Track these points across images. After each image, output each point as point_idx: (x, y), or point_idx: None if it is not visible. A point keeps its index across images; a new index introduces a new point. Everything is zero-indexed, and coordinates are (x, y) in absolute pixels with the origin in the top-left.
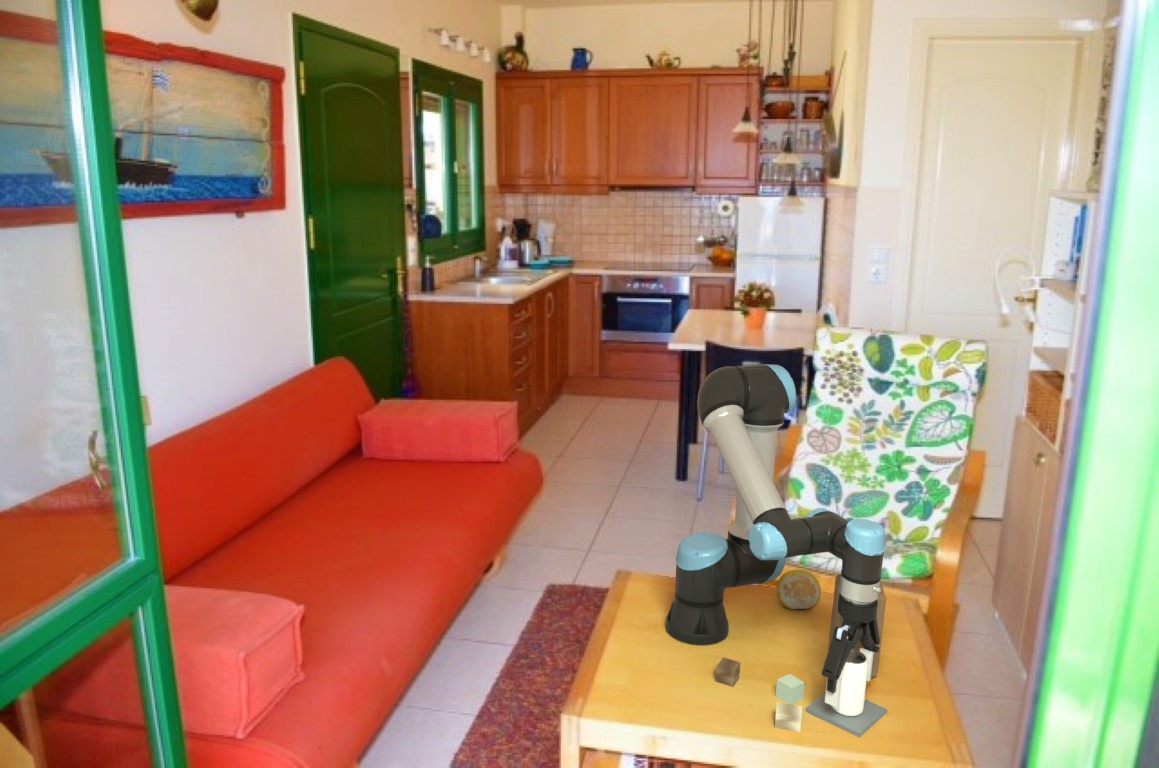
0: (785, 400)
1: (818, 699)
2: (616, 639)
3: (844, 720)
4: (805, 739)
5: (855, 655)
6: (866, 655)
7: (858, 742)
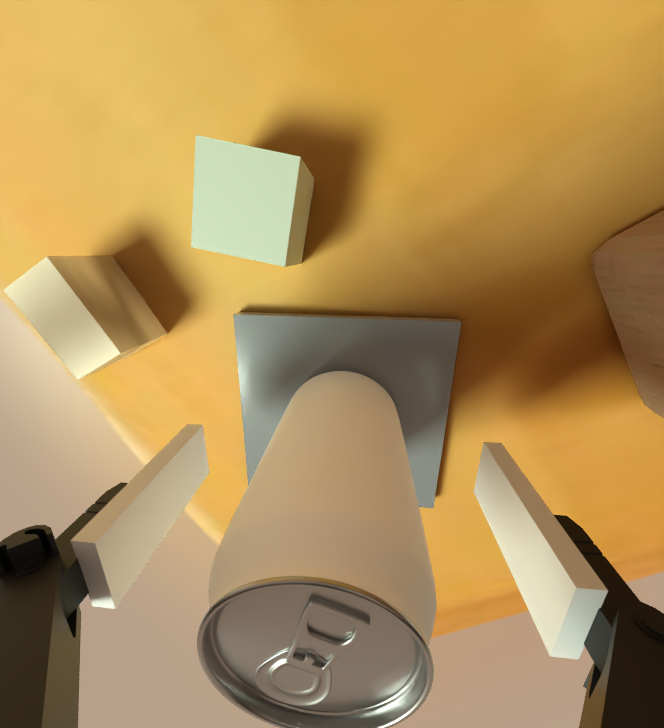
0: None
1: (319, 322)
2: None
3: None
4: (116, 384)
5: (362, 663)
6: (543, 596)
7: (230, 490)
